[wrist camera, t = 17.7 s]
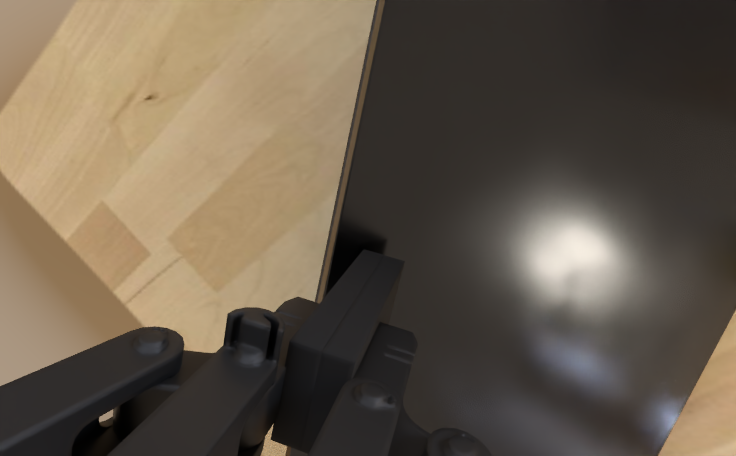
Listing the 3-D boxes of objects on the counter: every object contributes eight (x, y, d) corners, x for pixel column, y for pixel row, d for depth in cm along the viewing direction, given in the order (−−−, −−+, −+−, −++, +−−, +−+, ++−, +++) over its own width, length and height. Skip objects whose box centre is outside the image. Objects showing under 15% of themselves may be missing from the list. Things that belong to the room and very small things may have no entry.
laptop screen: (262, 562, 22) (263, 580, 21) (432, -265, 12) (445, -284, 11) (610, 516, 29) (619, 527, 28) (891, -28, 19) (917, -30, 18)
